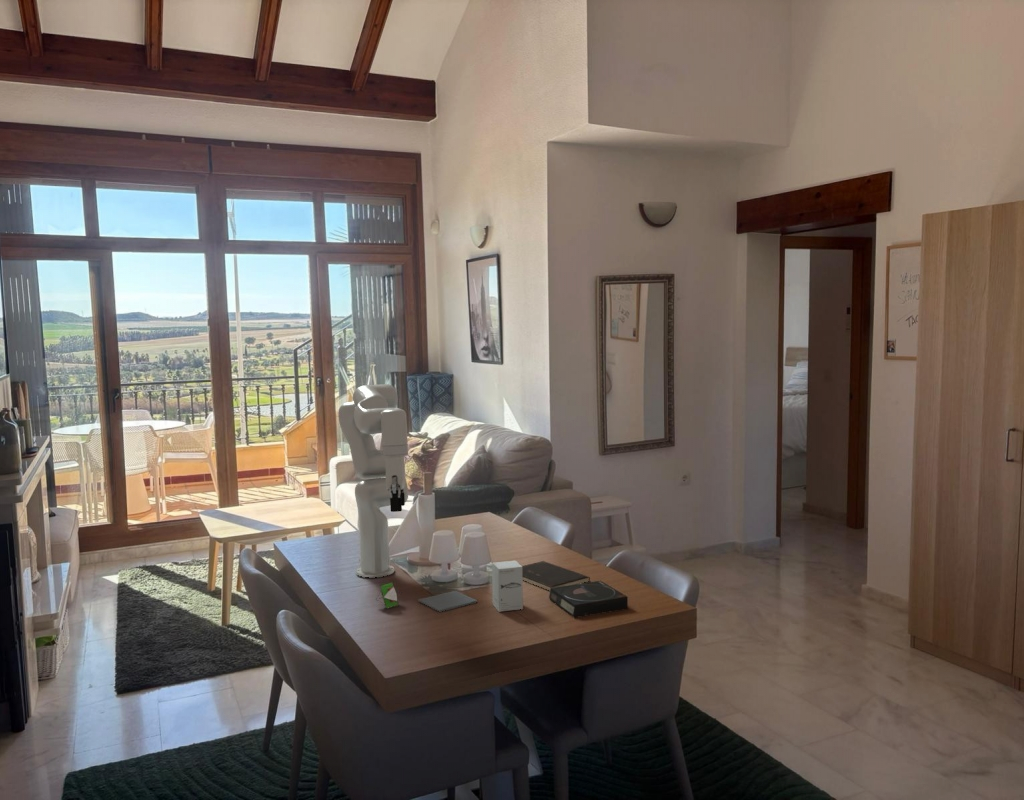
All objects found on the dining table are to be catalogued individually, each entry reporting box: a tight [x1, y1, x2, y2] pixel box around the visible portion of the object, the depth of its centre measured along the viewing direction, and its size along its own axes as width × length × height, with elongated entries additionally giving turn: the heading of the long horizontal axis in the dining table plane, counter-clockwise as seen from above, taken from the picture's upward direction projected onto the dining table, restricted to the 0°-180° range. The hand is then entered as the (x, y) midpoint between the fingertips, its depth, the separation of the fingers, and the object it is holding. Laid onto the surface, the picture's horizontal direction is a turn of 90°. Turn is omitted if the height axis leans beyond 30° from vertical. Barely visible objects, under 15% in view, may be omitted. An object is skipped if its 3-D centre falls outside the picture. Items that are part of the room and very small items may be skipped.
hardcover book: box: [521, 560, 591, 592], centre depth 256 cm, size 16×23×2 cm
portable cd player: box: [548, 580, 629, 618], centre depth 230 cm, size 16×17×4 cm
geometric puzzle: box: [375, 582, 403, 609], centre depth 232 cm, size 7×7×8 cm
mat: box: [417, 590, 478, 613], centre depth 235 cm, size 12×13×1 cm
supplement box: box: [491, 560, 524, 613], centre depth 229 cm, size 7×7×13 cm
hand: (397, 508), depth 236 cm, fingers open, 9 cm apart
